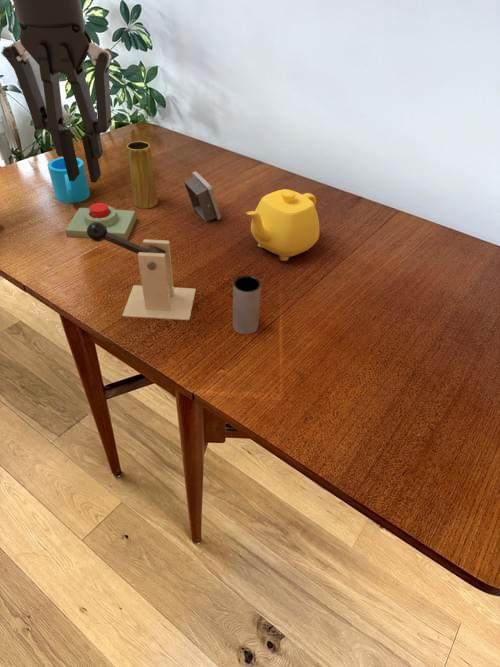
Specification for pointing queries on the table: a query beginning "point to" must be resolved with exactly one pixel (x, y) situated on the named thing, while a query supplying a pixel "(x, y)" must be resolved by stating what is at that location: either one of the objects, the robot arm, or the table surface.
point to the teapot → (285, 223)
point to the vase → (142, 175)
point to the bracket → (158, 288)
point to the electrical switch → (202, 197)
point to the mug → (68, 182)
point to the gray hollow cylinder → (246, 304)
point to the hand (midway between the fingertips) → (85, 177)
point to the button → (99, 210)
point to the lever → (116, 239)
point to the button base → (114, 223)
